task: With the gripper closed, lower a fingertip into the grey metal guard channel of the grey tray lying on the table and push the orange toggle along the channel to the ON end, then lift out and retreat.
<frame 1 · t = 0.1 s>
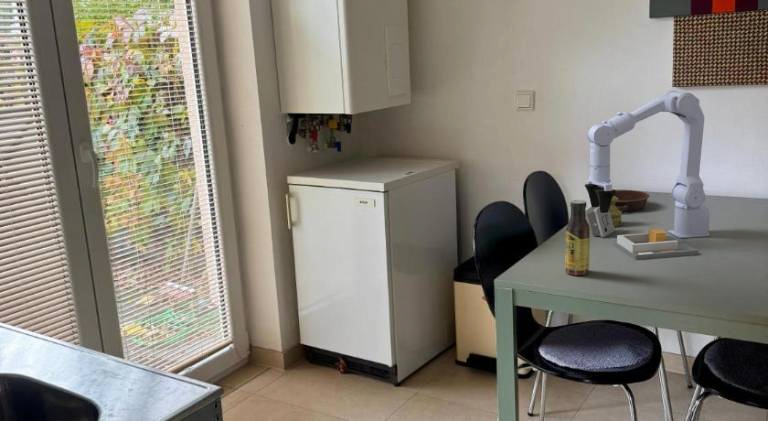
hand: (599, 209, 217), 10 cm above the table, tool pointing down, fingers open, 7 cm apart
salt shaker: (610, 225, 237), on the table
dish: (623, 208, 259), on the table
electrical switch: (600, 234, 227), on the table
grey tray: (653, 249, 208), on the table
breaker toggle: (657, 237, 207), point 3 cm above the table, slide at 0.0 cm
sauce bottle: (577, 273, 192), on the table
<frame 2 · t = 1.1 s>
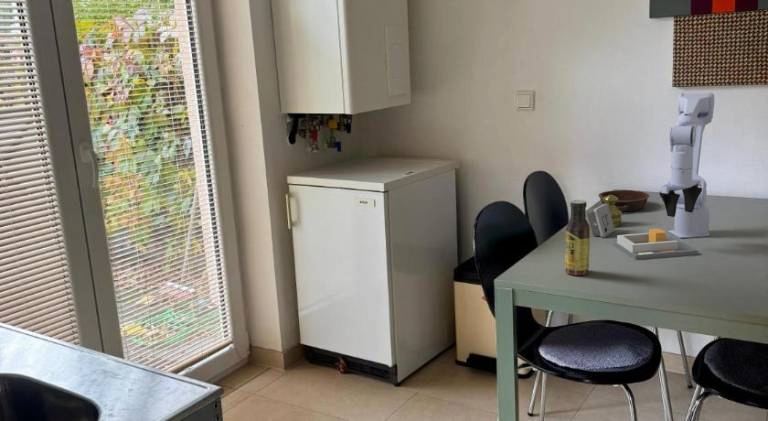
hand: (680, 214, 207), 10 cm above the table, tool pointing down, fingers open, 7 cm apart
nothing on the table moved.
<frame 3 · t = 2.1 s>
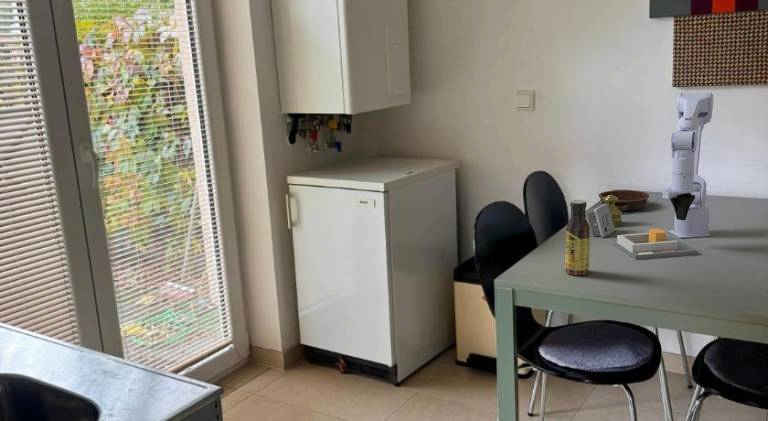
hand: (681, 219, 207), 8 cm above the table, tool pointing down, fingers closed
nothing on the table moved.
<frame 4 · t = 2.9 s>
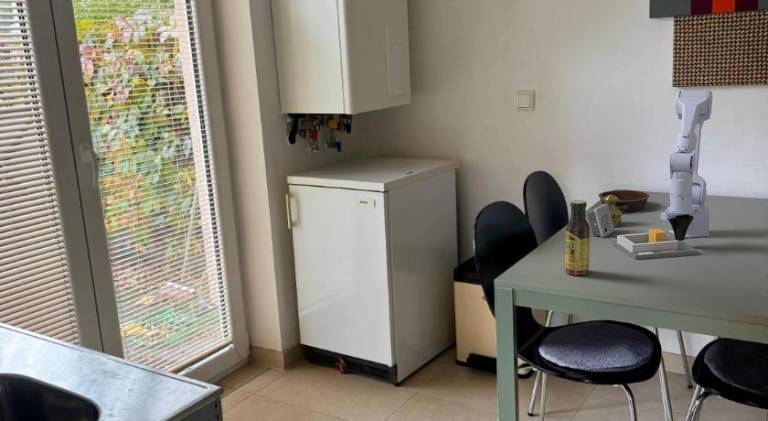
hand: (679, 239, 208), 2 cm above the table, tool pointing down, fingers closed
nothing on the table moved.
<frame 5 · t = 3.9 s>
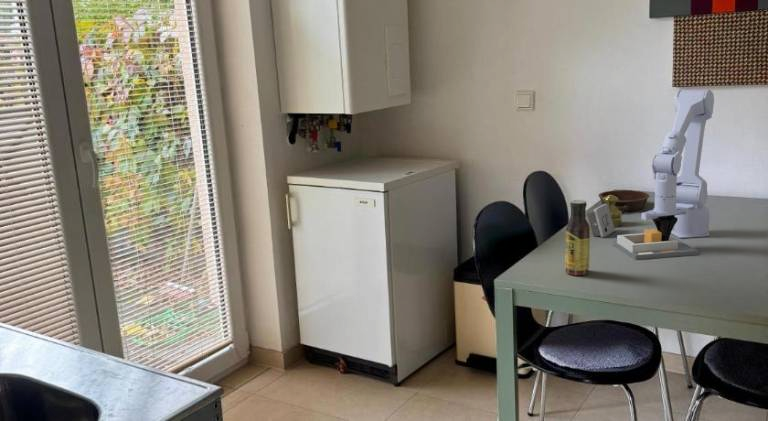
hand: (664, 241, 208), 2 cm above the table, tool pointing down, fingers closed
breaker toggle: (652, 238, 207), point 3 cm above the table, slide at 1.3 cm, touching gripper
everything else where it was.
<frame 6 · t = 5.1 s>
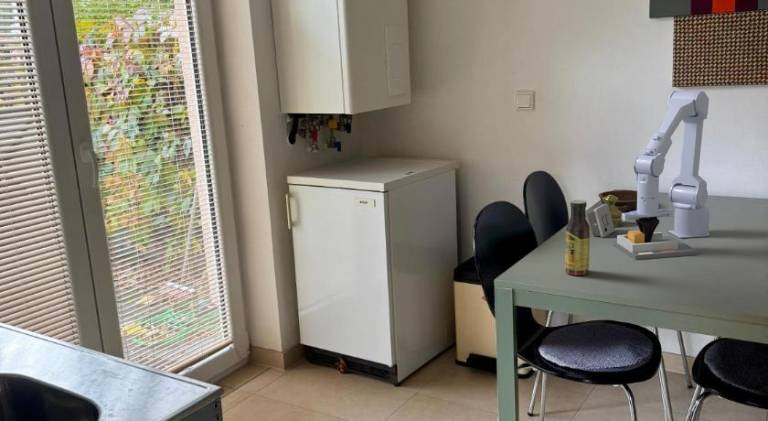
hand: (646, 242, 207), 2 cm above the table, tool pointing down, fingers closed
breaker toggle: (636, 239, 207), point 3 cm above the table, slide at 6.3 cm, touching gripper
everything else where it was.
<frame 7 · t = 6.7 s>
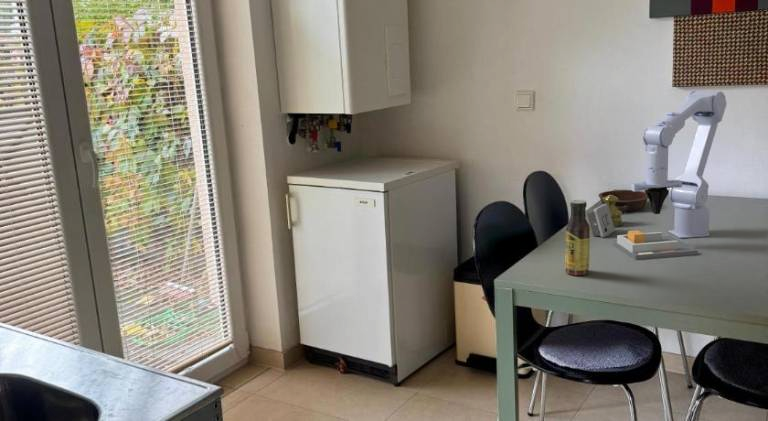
hand: (656, 213, 209), 10 cm above the table, tool pointing down, fingers closed
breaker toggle: (635, 239, 207), point 3 cm above the table, slide at 6.4 cm
everything else where it was.
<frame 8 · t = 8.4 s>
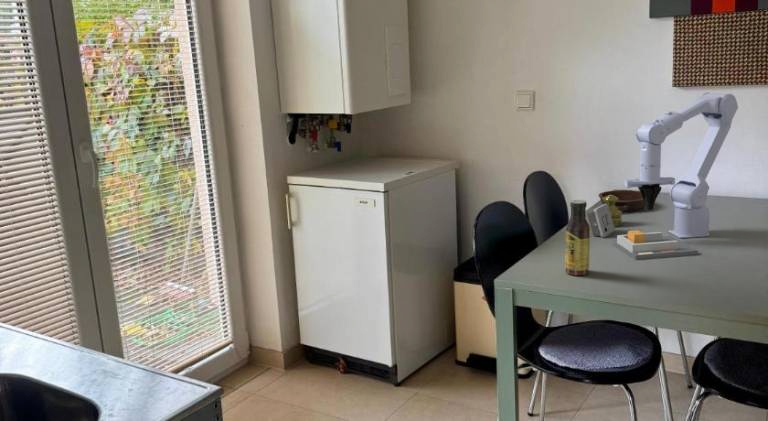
hand: (649, 209, 214), 10 cm above the table, tool pointing down, fingers closed
nothing on the table moved.
at the end: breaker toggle slide at 6.4 cm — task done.
